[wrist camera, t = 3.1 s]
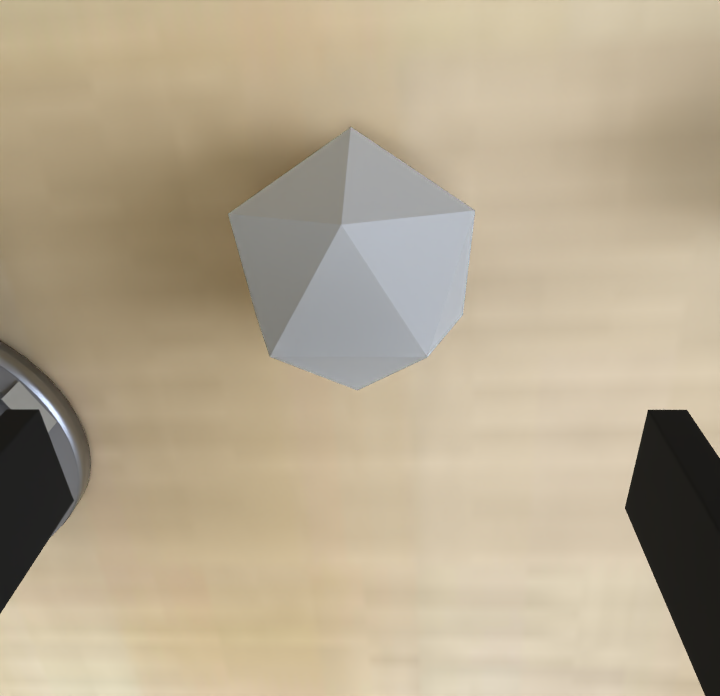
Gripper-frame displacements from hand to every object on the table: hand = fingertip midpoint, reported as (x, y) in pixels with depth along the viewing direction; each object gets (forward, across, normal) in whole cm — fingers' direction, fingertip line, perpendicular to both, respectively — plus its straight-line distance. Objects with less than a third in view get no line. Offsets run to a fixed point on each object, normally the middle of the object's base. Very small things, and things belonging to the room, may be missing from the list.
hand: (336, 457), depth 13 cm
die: (+15, 0, 0) cm, 15 cm away
